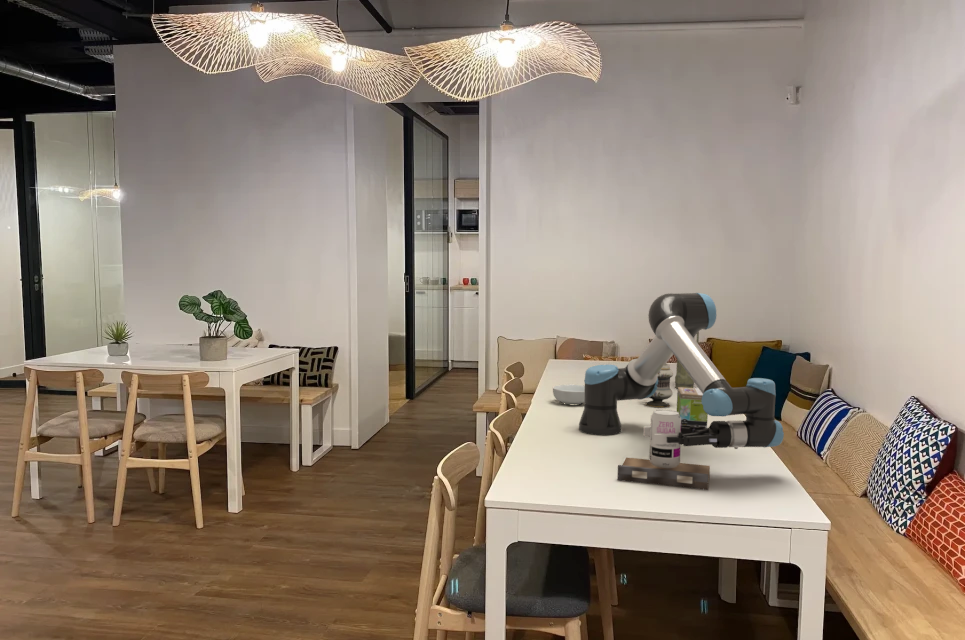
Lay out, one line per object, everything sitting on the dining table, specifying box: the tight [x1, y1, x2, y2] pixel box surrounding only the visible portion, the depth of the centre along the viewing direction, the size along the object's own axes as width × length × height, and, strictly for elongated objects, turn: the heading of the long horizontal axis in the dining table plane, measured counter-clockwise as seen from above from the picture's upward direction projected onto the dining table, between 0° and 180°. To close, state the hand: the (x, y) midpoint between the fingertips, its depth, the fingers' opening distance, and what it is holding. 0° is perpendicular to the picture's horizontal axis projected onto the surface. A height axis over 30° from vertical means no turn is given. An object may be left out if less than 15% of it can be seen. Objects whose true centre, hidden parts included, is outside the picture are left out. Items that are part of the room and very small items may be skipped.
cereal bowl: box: [552, 383, 585, 405], centre depth 304 cm, size 17×17×7 cm
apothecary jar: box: [645, 362, 674, 409], centre depth 302 cm, size 12×12×18 cm
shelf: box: [617, 457, 711, 491], centre depth 201 cm, size 24×17×4 cm
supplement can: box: [649, 409, 681, 468], centre depth 199 cm, size 8×8×15 cm
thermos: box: [674, 331, 700, 390], centre depth 343 cm, size 9×12×35 cm
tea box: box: [676, 387, 709, 428], centre depth 257 cm, size 15×10×15 cm
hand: (649, 435), depth 198 cm, fingers closed on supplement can, 8 cm apart
